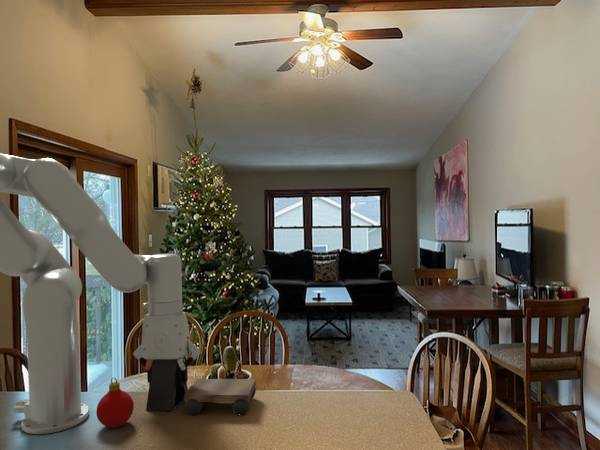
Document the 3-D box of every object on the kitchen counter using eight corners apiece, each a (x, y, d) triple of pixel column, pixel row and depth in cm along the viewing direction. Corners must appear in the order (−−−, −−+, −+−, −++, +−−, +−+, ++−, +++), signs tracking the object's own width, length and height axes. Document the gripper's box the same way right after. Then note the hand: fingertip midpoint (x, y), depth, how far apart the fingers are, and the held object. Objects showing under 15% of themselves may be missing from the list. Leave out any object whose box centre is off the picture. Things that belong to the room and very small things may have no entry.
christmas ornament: (89, 430, 88) (87, 381, 88) (117, 415, 95) (115, 369, 94) (114, 437, 85) (112, 386, 85) (141, 421, 92) (140, 374, 91)
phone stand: (170, 412, 95) (169, 357, 95) (145, 410, 97) (144, 356, 96) (189, 395, 104) (187, 345, 104) (166, 393, 105) (164, 344, 105)
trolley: (184, 415, 94) (184, 394, 93) (197, 397, 103) (196, 378, 102) (249, 415, 93) (248, 395, 93) (255, 397, 102) (255, 379, 102)
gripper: (121, 311, 97) (123, 392, 97) (197, 311, 96) (200, 392, 96) (135, 304, 104) (138, 379, 105) (207, 304, 103) (209, 379, 104)
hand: (167, 384), depth 100 cm, fingers closed on phone stand, 6 cm apart
